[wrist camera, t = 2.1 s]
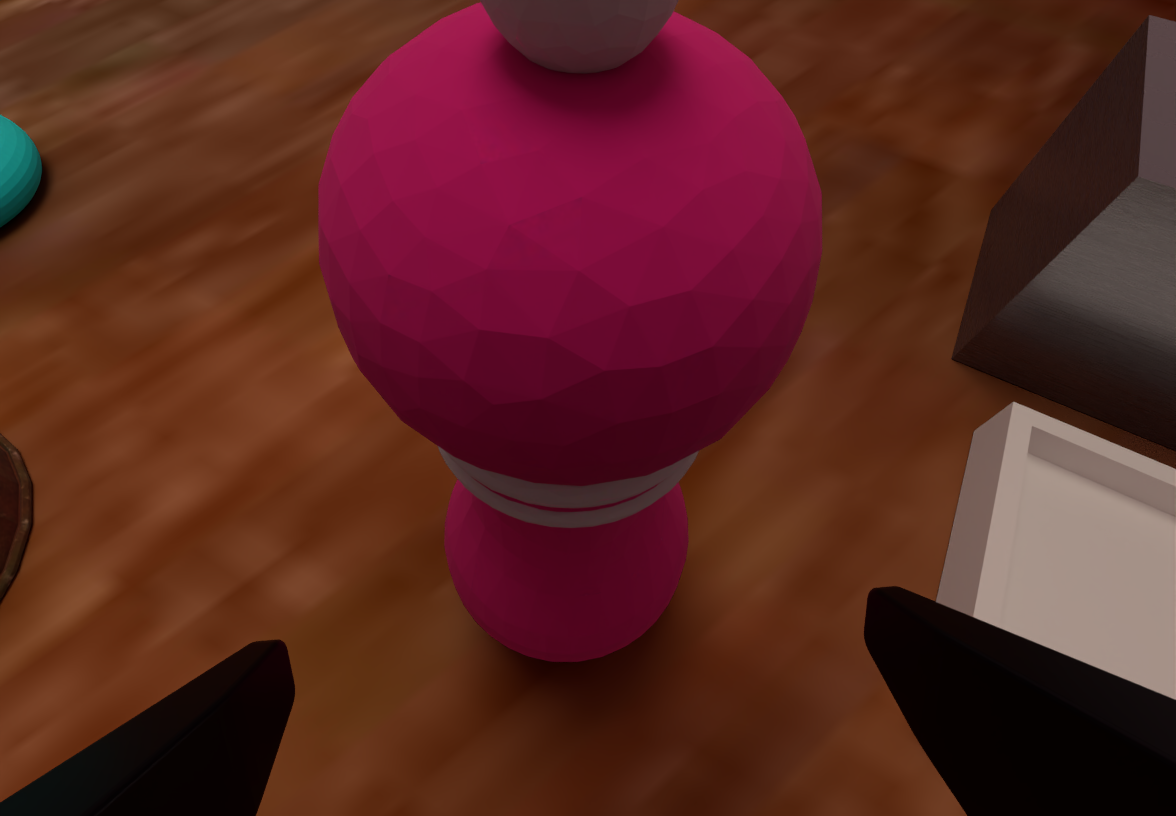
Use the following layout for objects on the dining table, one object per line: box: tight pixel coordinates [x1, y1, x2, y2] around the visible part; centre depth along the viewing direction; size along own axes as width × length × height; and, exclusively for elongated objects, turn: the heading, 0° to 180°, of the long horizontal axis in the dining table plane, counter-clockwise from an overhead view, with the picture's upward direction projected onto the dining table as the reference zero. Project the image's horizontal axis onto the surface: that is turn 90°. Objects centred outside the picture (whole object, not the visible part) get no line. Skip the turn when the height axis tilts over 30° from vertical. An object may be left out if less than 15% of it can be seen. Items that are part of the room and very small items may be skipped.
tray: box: [936, 402, 1176, 700], centre depth 19 cm, size 13×13×2 cm
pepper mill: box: [319, 0, 822, 662], centre depth 12 cm, size 7×7×20 cm
